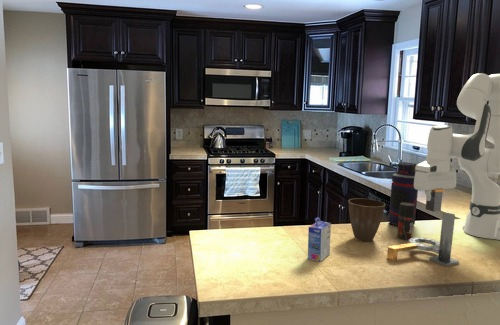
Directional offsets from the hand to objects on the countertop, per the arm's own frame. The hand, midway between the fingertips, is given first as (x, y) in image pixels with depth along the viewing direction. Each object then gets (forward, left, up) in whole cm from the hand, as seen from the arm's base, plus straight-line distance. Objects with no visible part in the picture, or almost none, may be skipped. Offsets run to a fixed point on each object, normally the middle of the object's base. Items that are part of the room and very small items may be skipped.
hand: (433, 200), depth 166 cm
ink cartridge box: (+50, -6, -20) cm, 54 cm away
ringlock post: (+15, +9, -19) cm, 26 cm away
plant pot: (+20, -16, -20) cm, 32 cm away
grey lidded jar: (0, 0, -4) cm, 4 cm away
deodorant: (+2, -11, -20) cm, 23 cm away
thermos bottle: (-13, -27, -20) cm, 36 cm away
